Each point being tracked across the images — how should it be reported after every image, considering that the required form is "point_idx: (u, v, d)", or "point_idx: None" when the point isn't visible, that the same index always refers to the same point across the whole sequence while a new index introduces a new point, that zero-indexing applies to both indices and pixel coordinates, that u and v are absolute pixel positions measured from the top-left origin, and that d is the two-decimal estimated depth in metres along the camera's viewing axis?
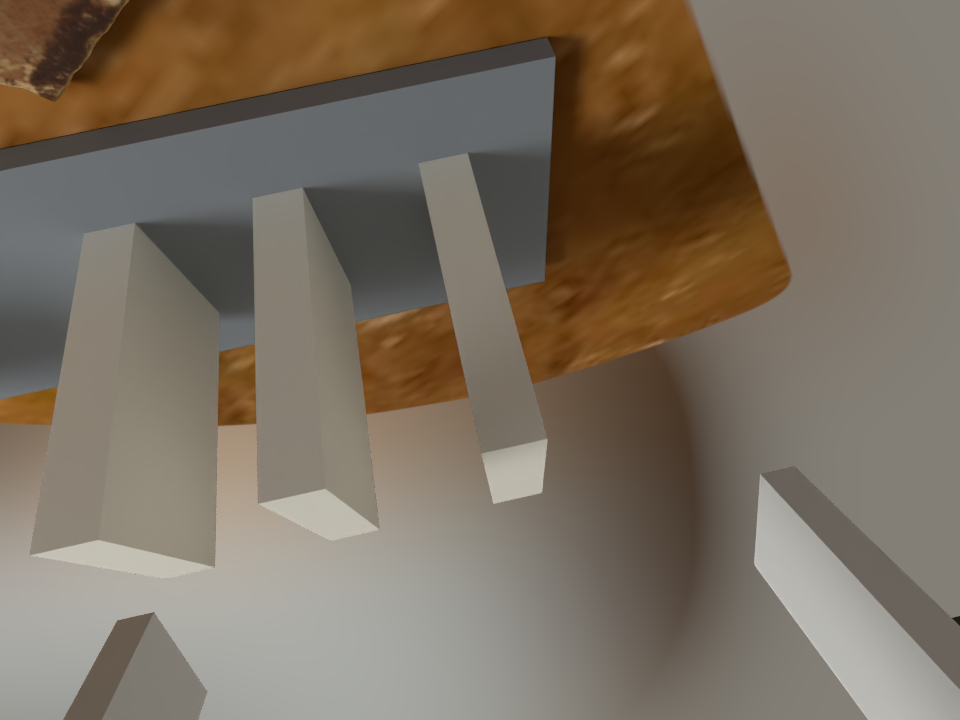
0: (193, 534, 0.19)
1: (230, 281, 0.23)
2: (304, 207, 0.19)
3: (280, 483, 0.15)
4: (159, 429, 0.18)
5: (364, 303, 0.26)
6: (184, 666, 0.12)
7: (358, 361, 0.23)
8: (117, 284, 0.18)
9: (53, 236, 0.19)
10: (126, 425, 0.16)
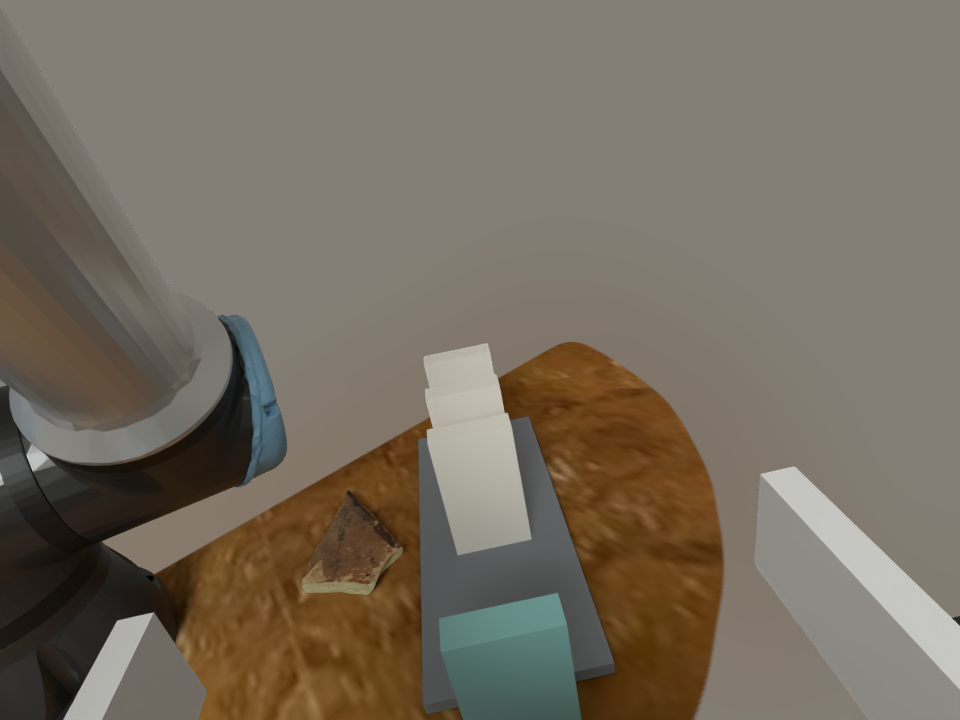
0: None
1: None
2: None
3: None
4: None
5: (532, 471, 0.51)
6: (184, 666, 0.12)
7: None
8: None
9: (456, 565, 0.43)
10: None
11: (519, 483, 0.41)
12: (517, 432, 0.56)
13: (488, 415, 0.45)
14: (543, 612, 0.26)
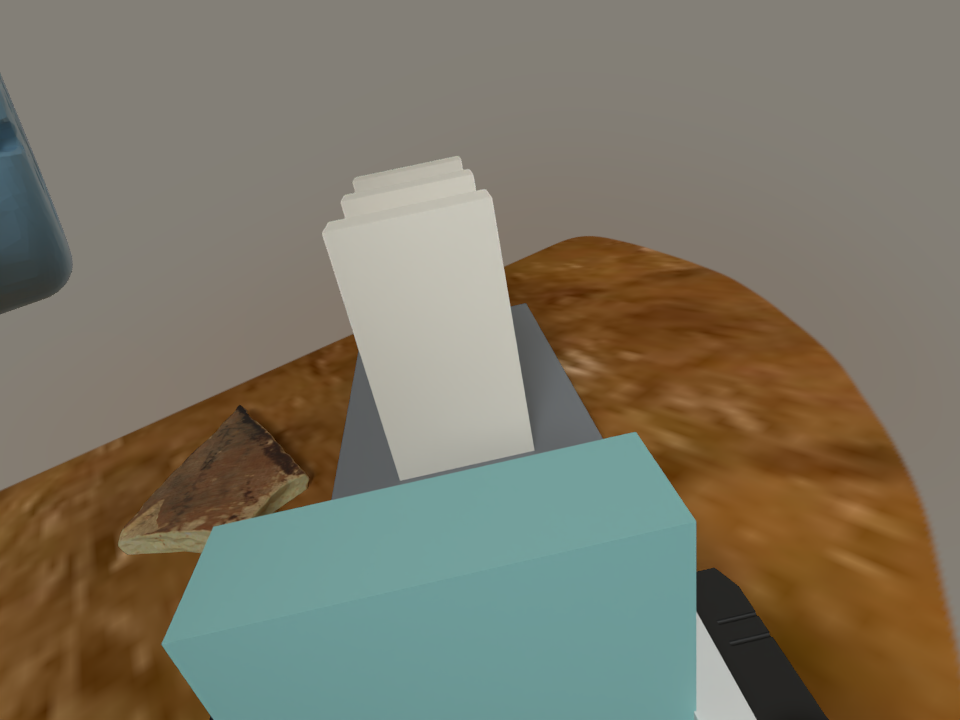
0: None
1: None
2: None
3: None
4: None
5: (532, 362, 0.31)
6: None
7: None
8: None
9: None
10: None
11: (510, 330, 0.21)
12: None
13: None
14: (591, 488, 0.07)
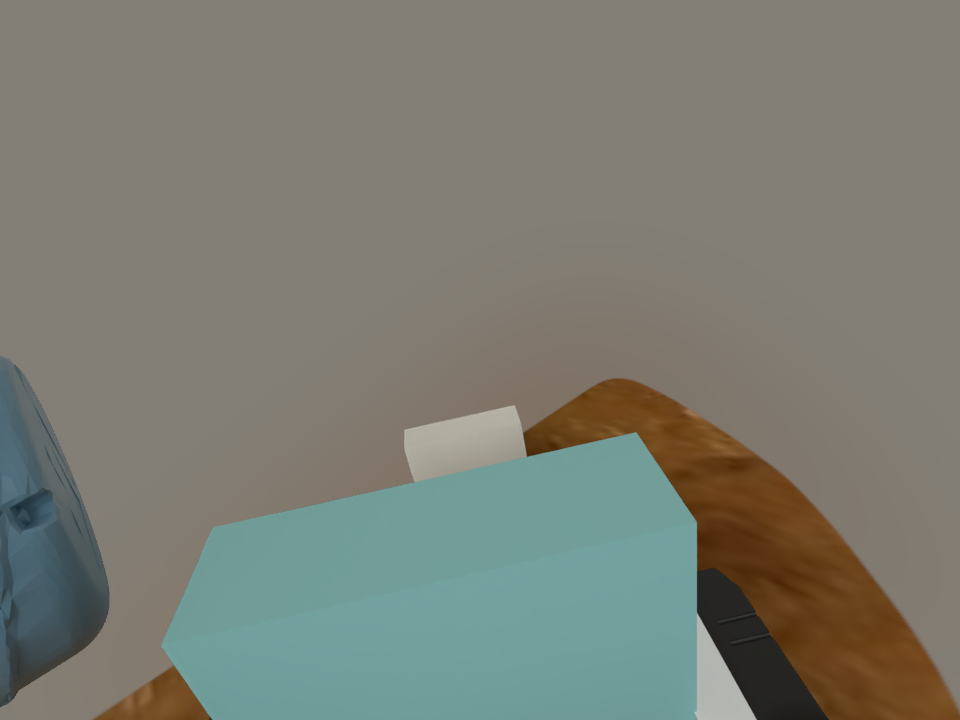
0: None
1: None
2: None
3: None
4: None
5: None
6: None
7: None
8: None
9: None
10: None
11: None
12: None
13: None
14: (591, 488, 0.07)
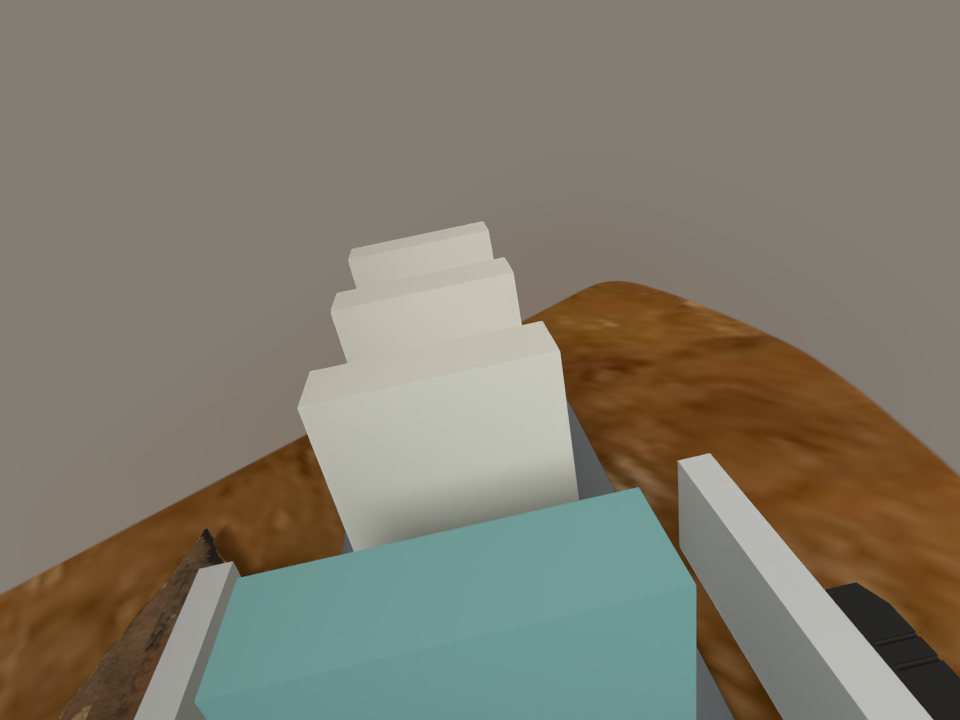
0: None
1: None
2: None
3: None
4: None
5: (578, 484, 0.24)
6: None
7: None
8: None
9: None
10: None
11: None
12: None
13: None
14: (596, 546, 0.07)
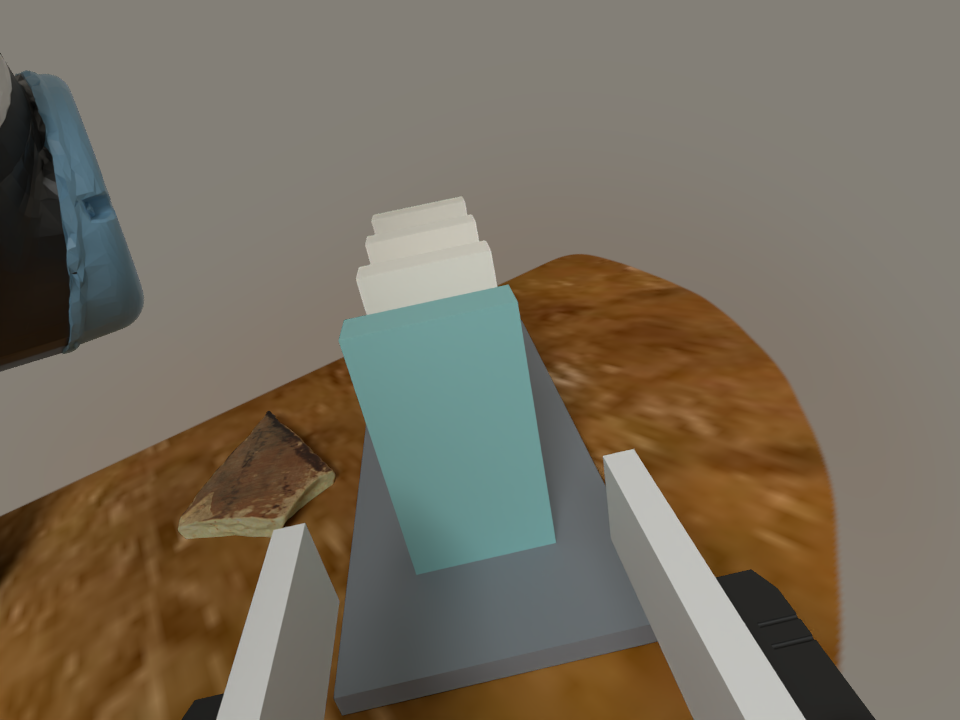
0: None
1: None
2: None
3: None
4: None
5: None
6: (325, 574, 0.13)
7: None
8: None
9: None
10: None
11: None
12: None
13: None
14: (486, 298, 0.19)
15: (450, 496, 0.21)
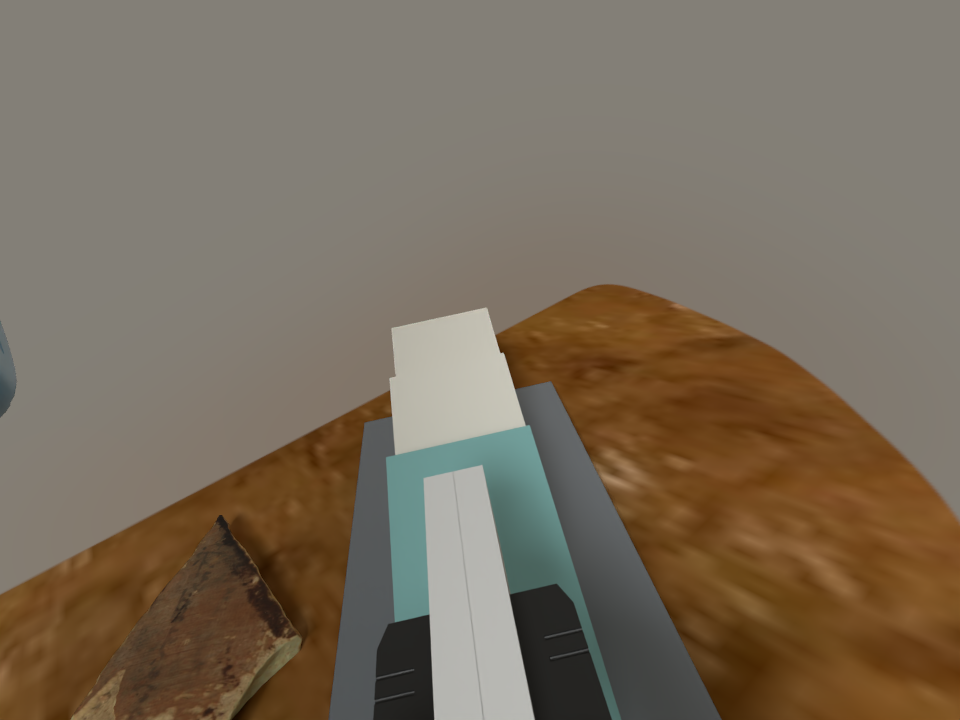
0: None
1: None
2: None
3: None
4: None
5: (566, 473, 0.27)
6: None
7: None
8: None
9: None
10: None
11: None
12: (534, 407, 0.32)
13: (472, 340, 0.32)
14: None
15: None
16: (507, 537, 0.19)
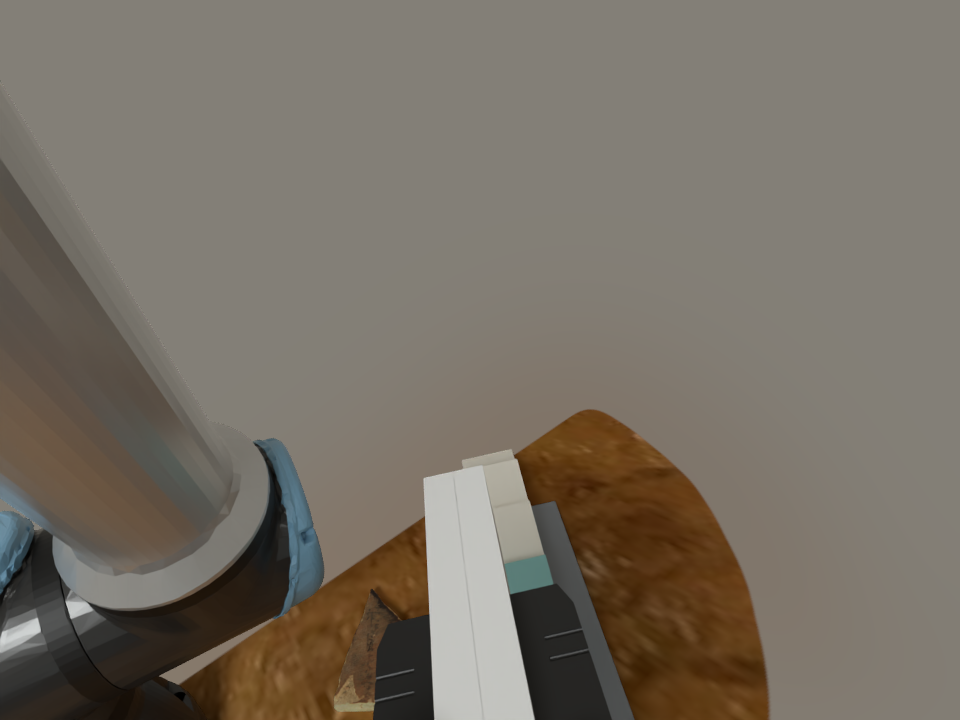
0: None
1: None
2: None
3: None
4: None
5: (563, 569, 0.50)
6: None
7: None
8: None
9: None
10: None
11: (541, 551, 0.48)
12: (545, 521, 0.56)
13: (509, 483, 0.55)
14: None
15: None
16: None
